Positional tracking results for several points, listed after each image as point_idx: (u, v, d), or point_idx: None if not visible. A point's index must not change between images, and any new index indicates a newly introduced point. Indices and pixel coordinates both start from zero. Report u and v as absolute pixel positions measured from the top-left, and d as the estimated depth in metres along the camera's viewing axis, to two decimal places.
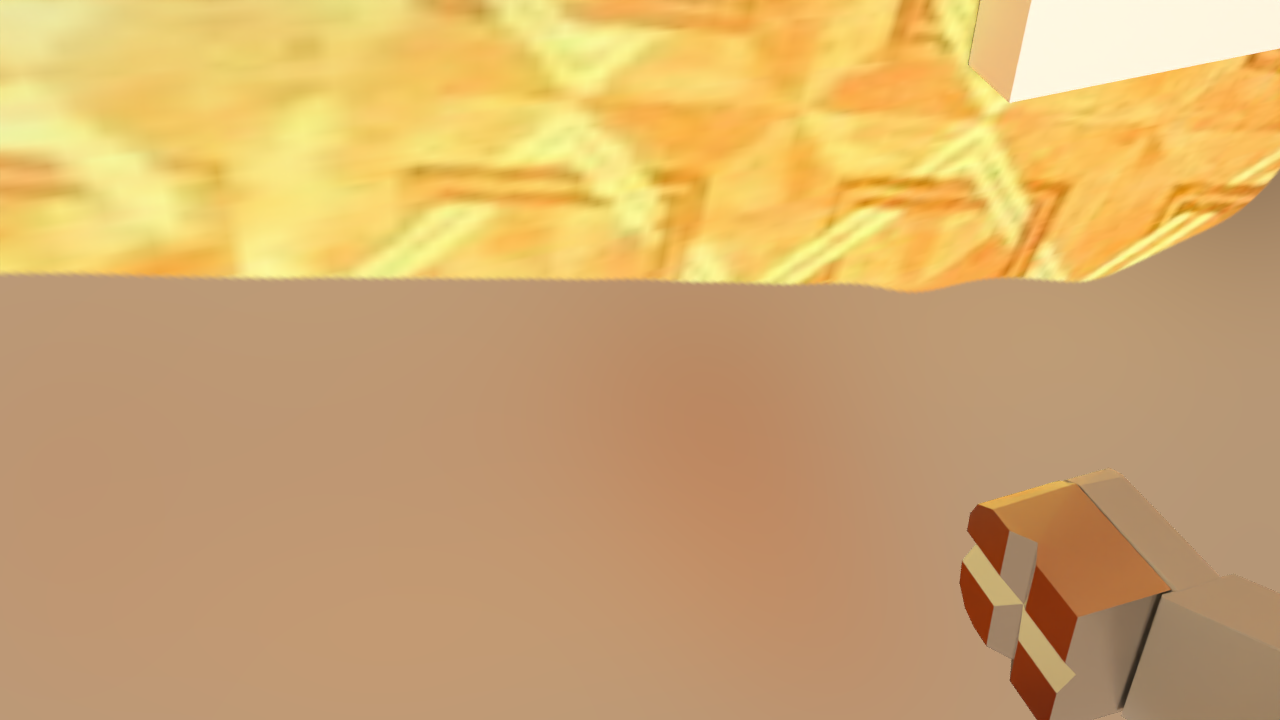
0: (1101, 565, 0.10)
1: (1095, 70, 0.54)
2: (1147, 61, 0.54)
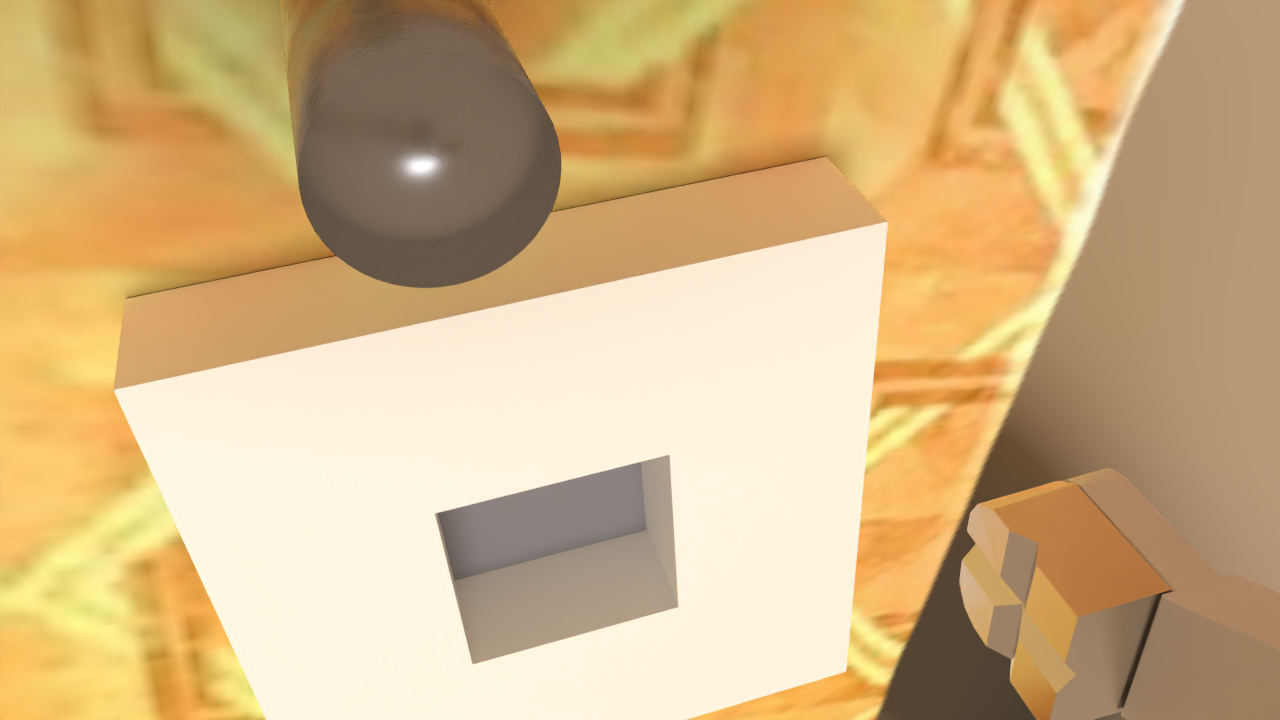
0: (1100, 566, 0.10)
1: None
2: None
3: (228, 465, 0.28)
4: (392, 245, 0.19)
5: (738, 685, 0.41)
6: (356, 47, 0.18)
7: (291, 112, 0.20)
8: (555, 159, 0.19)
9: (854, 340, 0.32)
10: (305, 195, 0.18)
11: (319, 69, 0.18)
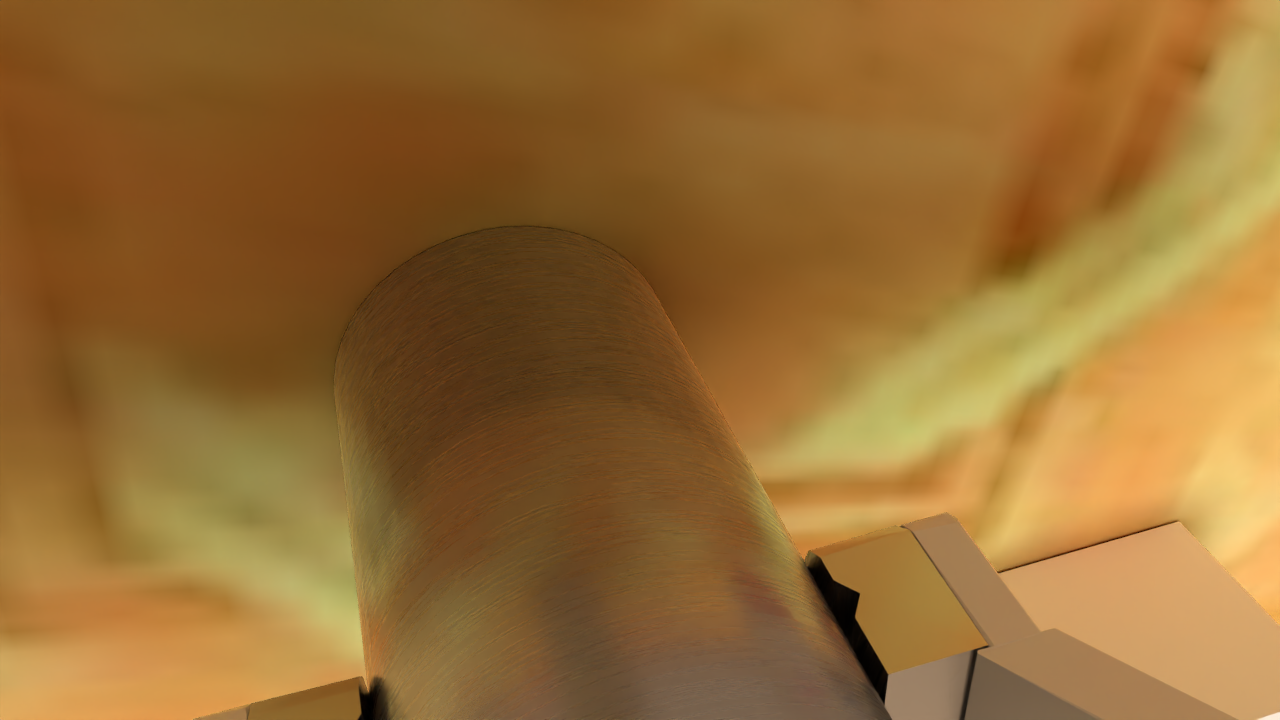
0: (920, 618, 0.10)
1: None
2: None
3: None
4: None
5: None
6: None
7: None
8: None
9: None
10: None
11: None
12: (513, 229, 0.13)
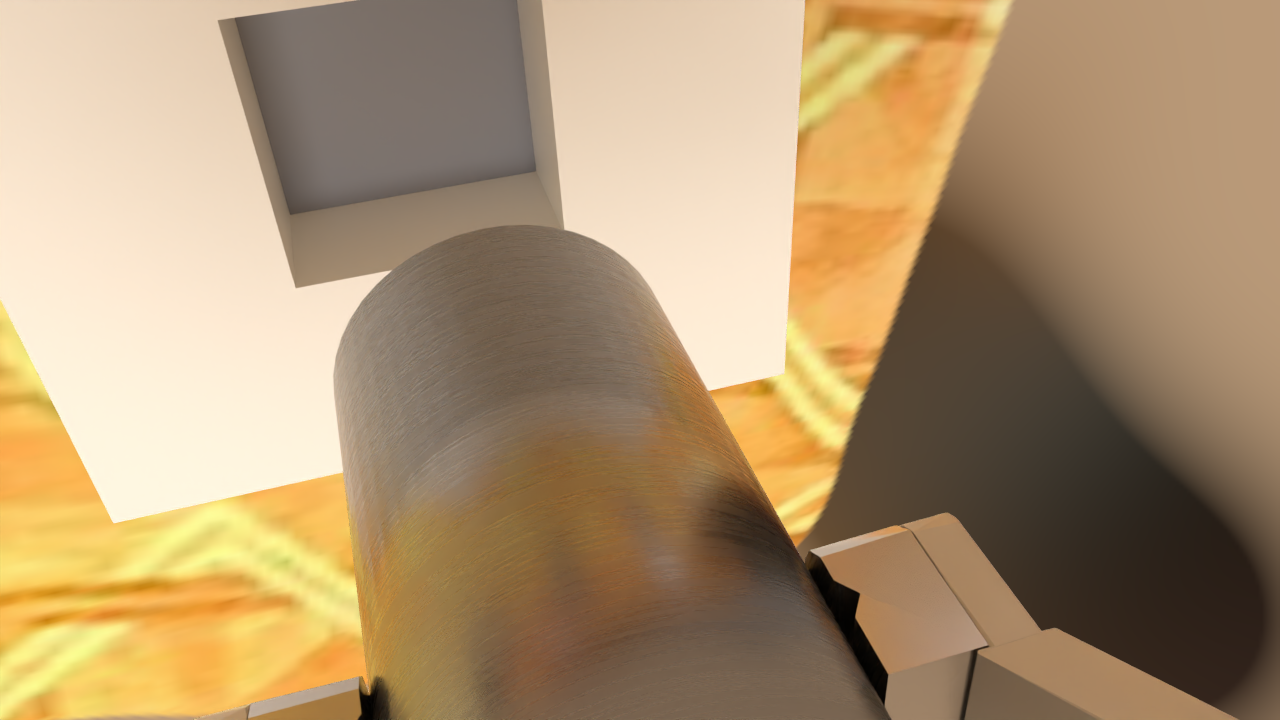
0: (920, 618, 0.10)
1: (272, 464, 0.31)
2: None
3: None
4: None
5: None
6: None
7: None
8: None
9: None
10: None
11: None
12: (513, 227, 0.13)
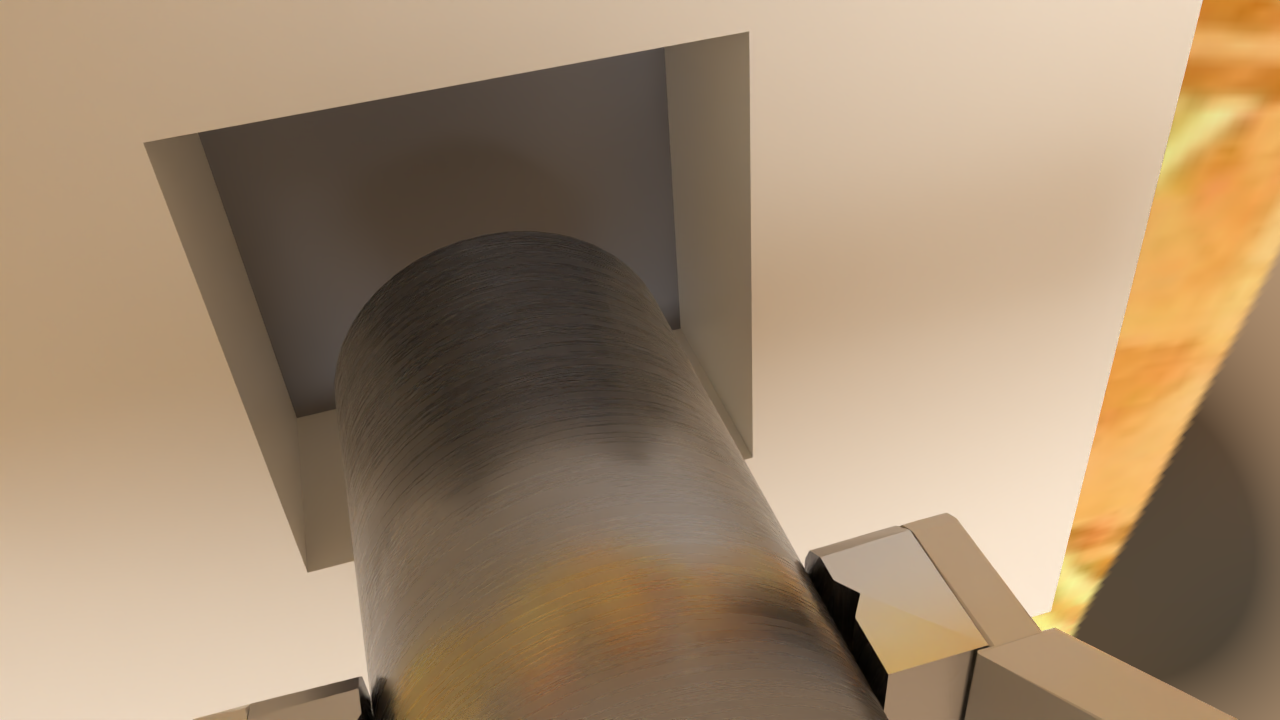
0: (920, 618, 0.10)
1: None
2: None
3: None
4: None
5: None
6: None
7: None
8: None
9: None
10: None
11: None
12: (514, 233, 0.13)
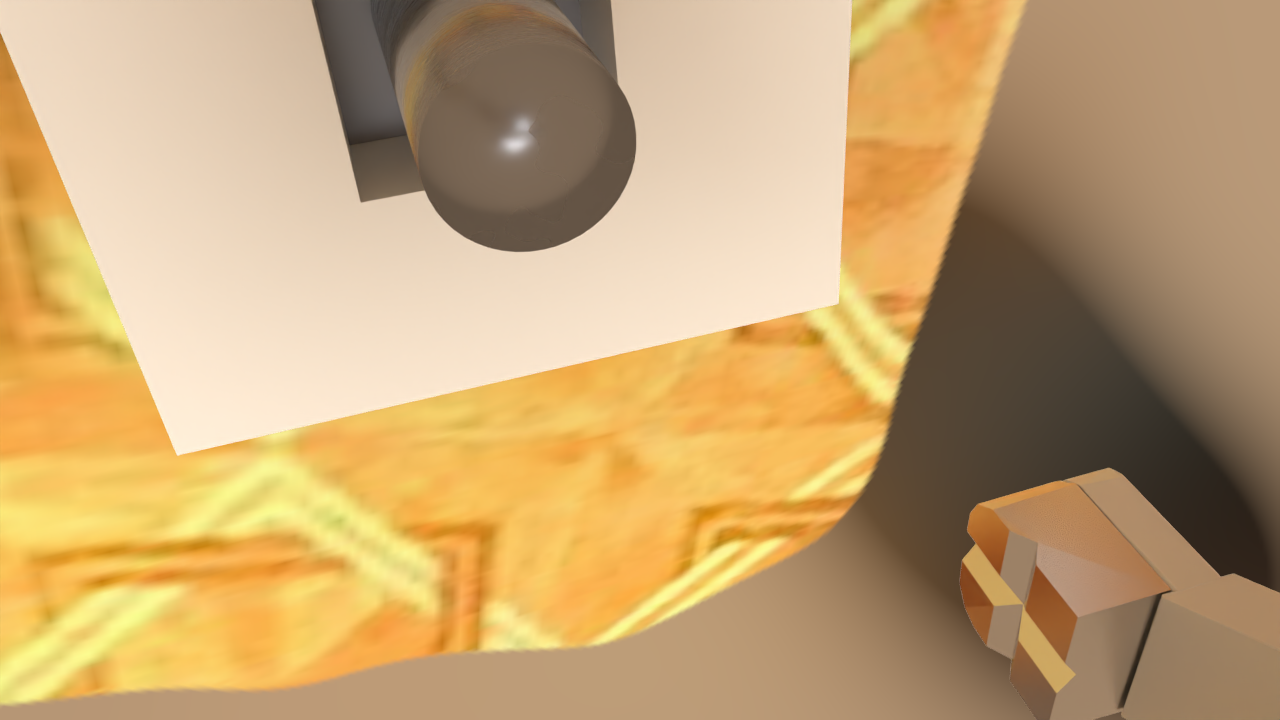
0: (1099, 565, 0.10)
1: (334, 394, 0.31)
2: (438, 372, 0.32)
3: None
4: (492, 213, 0.22)
5: (705, 301, 0.33)
6: (468, 43, 0.21)
7: (403, 102, 0.23)
8: (632, 139, 0.22)
9: None
10: (423, 167, 0.21)
11: (434, 63, 0.22)
12: None
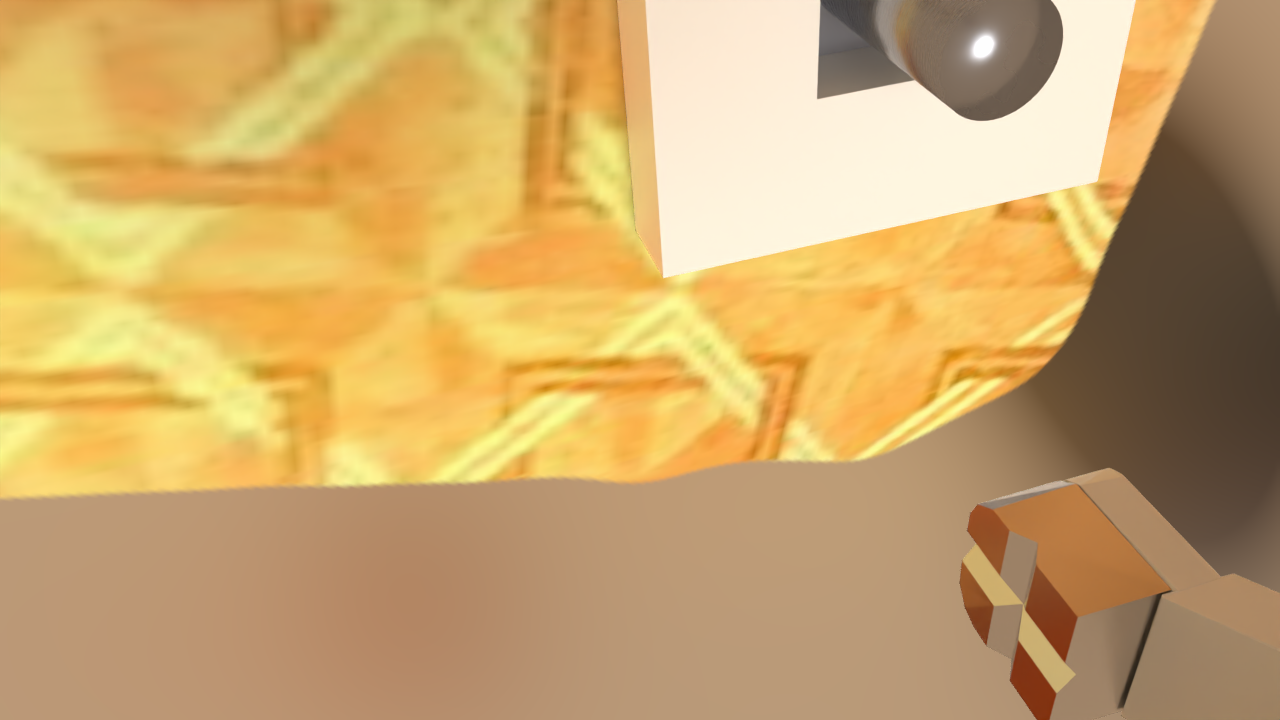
0: (1099, 566, 0.10)
1: (767, 237, 0.45)
2: (834, 223, 0.46)
3: None
4: (971, 95, 0.36)
5: (1011, 177, 0.47)
6: None
7: (906, 26, 0.37)
8: (1058, 49, 0.36)
9: None
10: (943, 64, 0.35)
11: (947, 0, 0.35)
12: None
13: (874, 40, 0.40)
